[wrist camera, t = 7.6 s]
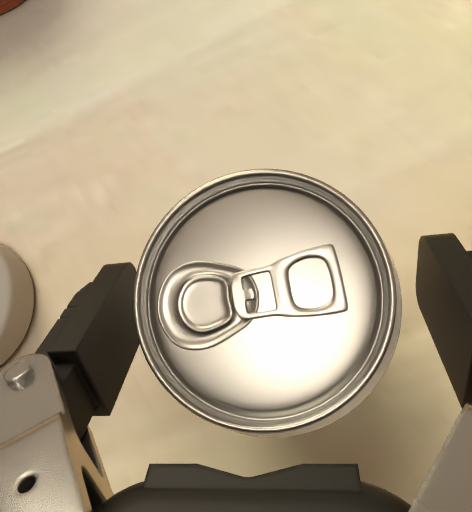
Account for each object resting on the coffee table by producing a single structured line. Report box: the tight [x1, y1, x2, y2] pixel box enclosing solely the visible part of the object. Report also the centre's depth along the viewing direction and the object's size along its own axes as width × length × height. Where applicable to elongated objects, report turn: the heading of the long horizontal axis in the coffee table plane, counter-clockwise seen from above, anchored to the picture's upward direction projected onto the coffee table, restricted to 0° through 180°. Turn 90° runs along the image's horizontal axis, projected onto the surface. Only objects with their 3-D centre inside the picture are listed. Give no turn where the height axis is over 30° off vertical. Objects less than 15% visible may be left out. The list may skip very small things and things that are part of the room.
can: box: [133, 169, 402, 437], centre depth 14 cm, size 6×6×12 cm
